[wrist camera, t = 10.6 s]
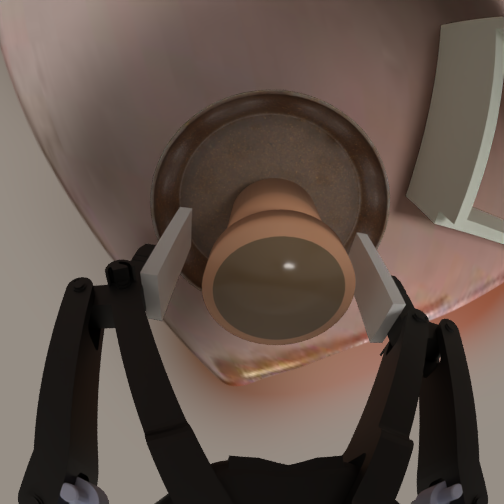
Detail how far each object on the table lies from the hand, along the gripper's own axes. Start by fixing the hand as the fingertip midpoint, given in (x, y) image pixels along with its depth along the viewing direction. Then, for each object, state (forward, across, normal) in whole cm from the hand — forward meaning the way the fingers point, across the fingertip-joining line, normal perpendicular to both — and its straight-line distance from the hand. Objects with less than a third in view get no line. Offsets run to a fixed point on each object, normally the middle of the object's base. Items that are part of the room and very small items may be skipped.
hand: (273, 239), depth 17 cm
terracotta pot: (+3, 0, 0) cm, 3 cm away
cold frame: (+5, +24, +11) cm, 27 cm away
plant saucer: (+6, 0, 0) cm, 6 cm away
